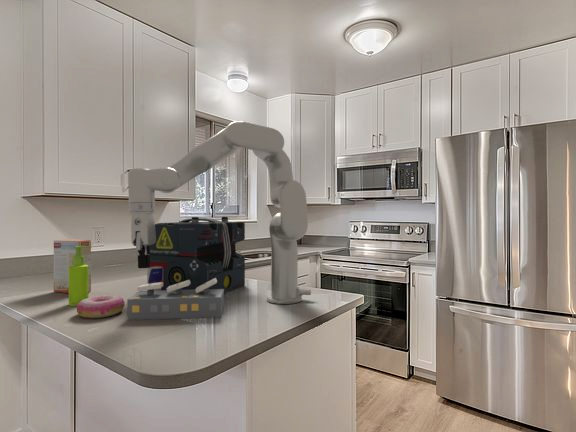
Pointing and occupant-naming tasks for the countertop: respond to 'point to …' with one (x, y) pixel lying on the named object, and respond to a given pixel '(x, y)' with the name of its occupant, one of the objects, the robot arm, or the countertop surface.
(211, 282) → the rocker
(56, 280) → the cracker box
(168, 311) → the panel
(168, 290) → the block
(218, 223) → the power unit
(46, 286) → the countertop surface
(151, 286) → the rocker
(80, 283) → the soap dispenser
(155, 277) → the energy drink
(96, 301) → the donut
